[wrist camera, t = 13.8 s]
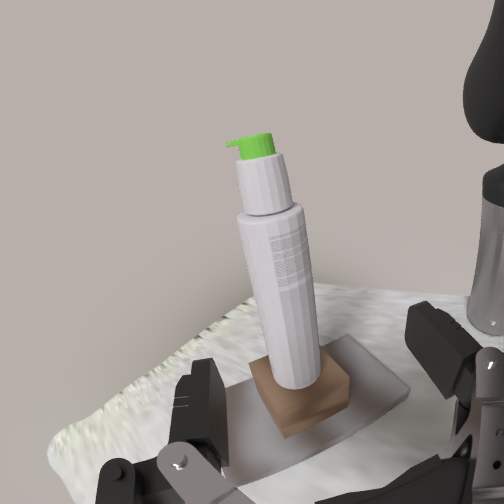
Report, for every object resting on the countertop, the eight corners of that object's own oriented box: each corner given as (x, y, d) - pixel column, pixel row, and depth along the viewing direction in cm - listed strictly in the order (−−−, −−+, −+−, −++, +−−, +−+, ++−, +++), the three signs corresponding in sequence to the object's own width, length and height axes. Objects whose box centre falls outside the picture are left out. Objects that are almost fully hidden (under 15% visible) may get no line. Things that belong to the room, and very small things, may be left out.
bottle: (294, 349, 27) (255, 135, 19) (330, 366, 24) (303, 127, 16) (263, 376, 24) (205, 146, 17) (299, 397, 21) (252, 135, 14)
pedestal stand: (347, 342, 34) (346, 302, 32) (407, 396, 24) (418, 356, 21) (202, 405, 30) (182, 369, 27) (232, 488, 19) (210, 464, 16)
